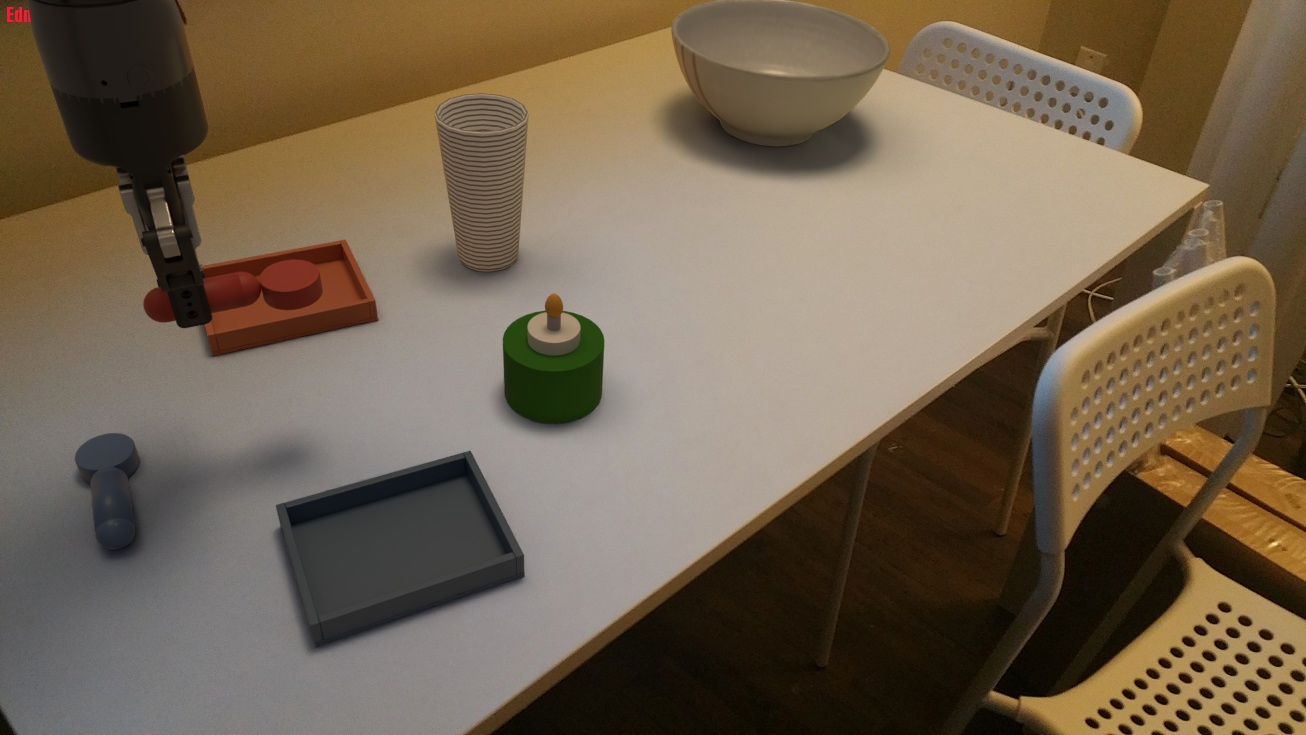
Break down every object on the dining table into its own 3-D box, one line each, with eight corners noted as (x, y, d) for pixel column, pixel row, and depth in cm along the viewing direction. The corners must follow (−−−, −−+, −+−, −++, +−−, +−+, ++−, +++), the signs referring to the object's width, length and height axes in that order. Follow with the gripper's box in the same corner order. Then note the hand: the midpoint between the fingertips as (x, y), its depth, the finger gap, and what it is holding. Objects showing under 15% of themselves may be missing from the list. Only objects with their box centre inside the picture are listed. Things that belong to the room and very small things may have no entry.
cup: (545, 267, 99) (544, 122, 89) (465, 288, 95) (455, 139, 85) (509, 227, 104) (505, 87, 94) (432, 245, 100) (420, 101, 91)
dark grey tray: (315, 647, 63) (309, 625, 61) (280, 525, 70) (275, 504, 69) (524, 575, 68) (524, 554, 67) (471, 470, 76) (470, 449, 74)
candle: (541, 349, 88) (541, 254, 82) (620, 383, 85) (626, 287, 79) (484, 398, 82) (479, 300, 76) (566, 437, 79) (568, 338, 73)
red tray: (212, 356, 84) (207, 335, 83) (195, 287, 92) (189, 267, 91) (378, 320, 90) (375, 300, 89) (348, 258, 98) (345, 239, 96)
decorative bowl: (624, 131, 124) (629, 36, 116) (725, 68, 142) (735, -17, 135) (818, 196, 114) (837, 97, 106) (900, 120, 132) (921, 31, 125)
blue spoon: (153, 546, 68) (144, 522, 67) (89, 564, 66) (78, 541, 65) (137, 442, 76) (129, 419, 74) (79, 456, 74) (69, 433, 73)
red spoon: (151, 339, 65) (141, 310, 63) (146, 306, 67) (136, 277, 66) (328, 303, 69) (323, 274, 67) (316, 273, 72) (311, 245, 70)
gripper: (44, 29, 59) (125, 269, 70) (49, 126, 50) (141, 386, 61) (178, 16, 62) (236, 249, 73) (206, 106, 53) (268, 358, 64)
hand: (192, 310), depth 67 cm, fingers closed on red spoon, 2 cm apart
